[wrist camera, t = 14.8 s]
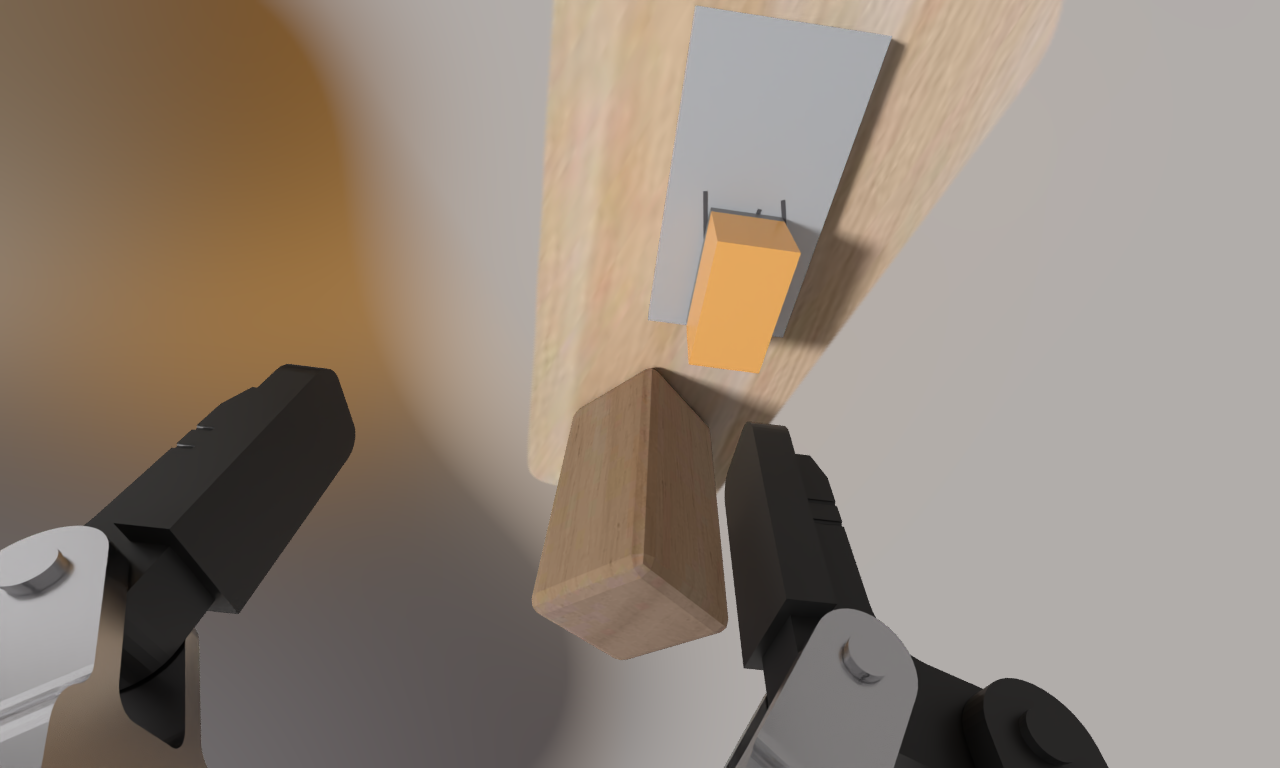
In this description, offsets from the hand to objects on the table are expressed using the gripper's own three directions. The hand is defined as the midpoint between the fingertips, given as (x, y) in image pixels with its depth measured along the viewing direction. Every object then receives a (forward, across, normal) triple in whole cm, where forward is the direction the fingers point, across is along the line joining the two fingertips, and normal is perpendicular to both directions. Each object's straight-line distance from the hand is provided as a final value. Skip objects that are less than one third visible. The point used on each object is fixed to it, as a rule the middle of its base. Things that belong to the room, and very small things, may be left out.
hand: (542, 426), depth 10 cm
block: (+28, -4, +25) cm, 38 cm away
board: (+28, -8, +3) cm, 30 cm away
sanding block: (+27, -8, +8) cm, 29 cm away
